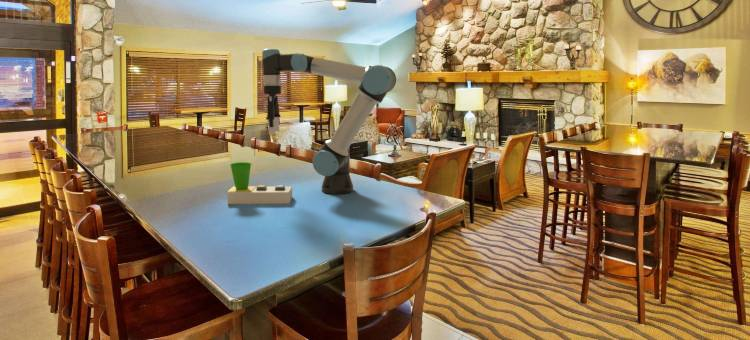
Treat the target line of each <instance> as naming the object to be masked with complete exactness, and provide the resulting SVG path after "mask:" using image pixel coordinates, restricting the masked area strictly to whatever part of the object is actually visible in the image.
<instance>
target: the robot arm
mask: <svg viewBox="0 0 750 340" xmlns="http://www.w3.org/2000/svg"><path fill="white" fill-rule="evenodd" d="M261 53H262V56H261V57H262V59H261V61H262V75H263V76H262V77H261V79H262V80H263V94H264V95H268V96H267V110H266V111H267V112H266V120H267V126H268V135H269V136H270V135H271V136H272V135H273V136H274V135H276V132H280V118H281V114H280V109H279V108H280V107H279V99H278V97H279V96H278V95H281V94H282V87H281V84H282V79H281V78H282V77H281V75H282V74H281V72H298V73H299V72H302V73H306V74H313V75H317V76H321V77H327V78H332V79H336V80H337V79H338V80H341V81H342V80H343V81H346V82H352V83H357V84H359V85H358V87H357V90H358V94H357V96H356V97H355V99H354V101H353V102H352V104H351V106H350V107H349V109H348V110H347V112H346V114H345V115H344V117H343V119H342V120H341V122H340V124H339V125H338V127H337V129H336V130H335V131H334V133H333V135H332V137H331V138H330V139H327V140H325V142H324V143H323V144H322V146H321V148H320V150H319V151H317V152H316V153H315V154H314V156H313V158H312V168H313V169H314V171H315V172H316V173H317V174H319V175H321V176H322V177H323V181H322V184H321V192H322V193H325V194H330V195H341V194H342V195H345V194H349V193H352V192H353V191H354V184H353V181H352V178H351V173H350V159H351V158H350V151H351V149H350V146H351V145H352V143H353V141H354V140H355V138H356V137H357V135H358V133H359V132H360V130H361V129H362V128H363V126H364V124H365V123H366V121H367V120H368V117H369V116H370V114H371V113H372V111H373V109H374V108H375V106H376V105H377V104H381V103H382V102H383V100H384V99H385V97H386V95H388V93H389V92H391V91H392V90H393V89H394V88H395V86H396V84H397V76H396V73H395V72H394V70H393V69H392V68H390V67H388V66H383V65H381V64H379V65H378V64H377V65H369V66H367V67H366V66H361V65H355V64H351V63H345V62H341V61H336V60H335V61H334V60H331V59H326V58H325V59H324V58H320V57H314V56H311V55H306V54H304V53H298V52H296V53H281V52H280V50H279V49H277V48H265V49H263V50H262V52H261Z"/></svg>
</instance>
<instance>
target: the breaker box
mask: <svg viewBox="0 0 750 340" xmlns="http://www.w3.org/2000/svg"><path fill="white" fill-rule="evenodd" d="M257 187H258V186H255V185H252V186H251V185H248V189H246V190H236V188H235V185H234V186H232V187H230V188H229V189H228V190H227V193H226V196H227V197H226V198H227V205H256V204H257V205H259V204H260V205H264V204H265V205H266V204H267V205H268V204H269V205H275V204H277V205H283V204H290V202H291V200H292V199H293V186H285V190H283V191H275V187H276V186H266V188H267V190H266V191H257Z"/></svg>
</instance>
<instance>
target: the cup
mask: <svg viewBox="0 0 750 340" xmlns="http://www.w3.org/2000/svg"><path fill="white" fill-rule="evenodd" d="M229 166H230V169H231V173H232V178H233V182H234V186H235V188H236V190H246V189H248V186H249V183H250V177H251V176H250V174H251V167H252V163H251V162H246V161H240V162H239V161H238V162H232V163H230V164H229Z"/></svg>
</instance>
